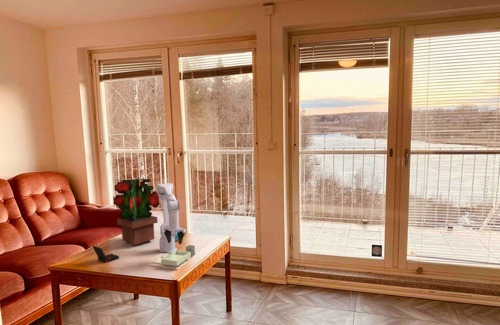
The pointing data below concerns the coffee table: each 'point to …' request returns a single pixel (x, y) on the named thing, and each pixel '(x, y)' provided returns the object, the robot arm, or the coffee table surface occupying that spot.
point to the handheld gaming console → (102, 256)
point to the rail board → (158, 264)
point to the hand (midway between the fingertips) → (174, 243)
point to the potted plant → (136, 210)
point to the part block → (191, 249)
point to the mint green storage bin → (176, 258)
